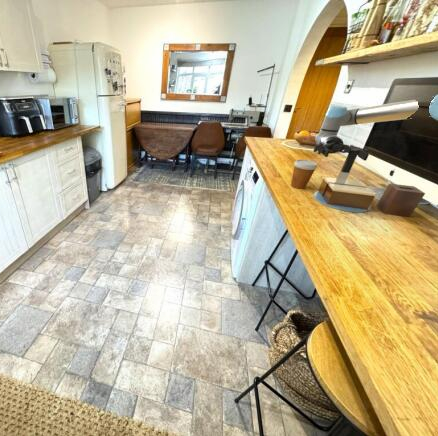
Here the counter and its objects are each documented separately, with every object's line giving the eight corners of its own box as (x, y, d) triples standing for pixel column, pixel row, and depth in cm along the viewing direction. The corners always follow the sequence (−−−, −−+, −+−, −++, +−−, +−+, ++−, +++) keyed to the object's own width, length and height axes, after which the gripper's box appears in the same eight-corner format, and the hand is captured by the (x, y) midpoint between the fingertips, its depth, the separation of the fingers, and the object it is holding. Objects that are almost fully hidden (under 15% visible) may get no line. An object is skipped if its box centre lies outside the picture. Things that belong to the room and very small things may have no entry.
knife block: (400, 209, 97) (414, 186, 92) (409, 217, 91) (425, 193, 86) (376, 205, 99) (388, 183, 94) (384, 213, 94) (398, 190, 89)
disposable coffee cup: (310, 191, 111) (320, 166, 105) (287, 188, 114) (296, 163, 108) (307, 184, 119) (316, 160, 113) (286, 181, 122) (293, 158, 116)
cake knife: (336, 198, 103) (358, 149, 93) (337, 199, 102) (360, 150, 91) (327, 197, 104) (349, 148, 94) (329, 198, 103) (350, 149, 92)
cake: (358, 195, 108) (367, 179, 104) (379, 216, 92) (389, 198, 88) (308, 189, 114) (314, 174, 110) (319, 207, 97) (327, 190, 93)
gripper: (358, 154, 114) (378, 167, 97) (299, 149, 121) (309, 161, 104) (365, 138, 110) (388, 149, 93) (305, 133, 117) (315, 143, 100)
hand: (346, 155), depth 98 cm, fingers open, 13 cm apart
